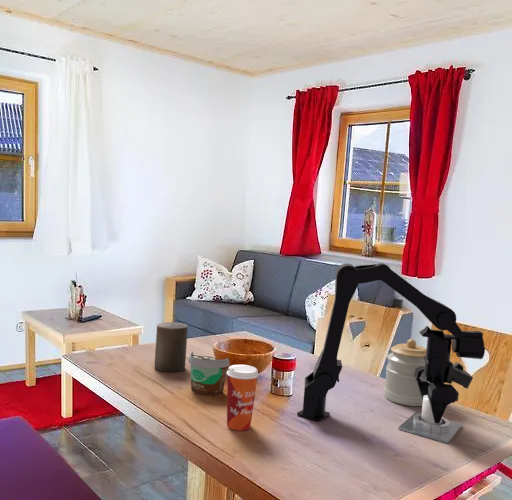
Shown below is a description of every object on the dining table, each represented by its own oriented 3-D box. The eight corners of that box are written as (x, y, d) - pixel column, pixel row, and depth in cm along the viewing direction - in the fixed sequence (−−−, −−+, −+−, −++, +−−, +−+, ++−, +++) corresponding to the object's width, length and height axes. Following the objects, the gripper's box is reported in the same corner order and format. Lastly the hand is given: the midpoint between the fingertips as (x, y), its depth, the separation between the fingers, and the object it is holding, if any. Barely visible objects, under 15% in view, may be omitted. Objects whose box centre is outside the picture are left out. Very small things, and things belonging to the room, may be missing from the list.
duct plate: (448, 443, 126) (448, 435, 126) (398, 429, 133) (399, 421, 133) (462, 426, 138) (463, 418, 138) (416, 413, 145) (416, 406, 144)
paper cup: (230, 434, 123) (235, 374, 122) (217, 421, 130) (221, 364, 129) (260, 430, 127) (265, 372, 126) (246, 418, 133) (250, 362, 132)
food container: (178, 391, 149) (180, 355, 148) (189, 385, 155) (191, 351, 154) (218, 400, 145) (220, 363, 144) (227, 393, 150) (230, 358, 150)
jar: (437, 400, 157) (443, 341, 155) (416, 410, 147) (422, 347, 146) (396, 388, 165) (402, 332, 164) (375, 397, 156) (380, 337, 155)
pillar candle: (182, 373, 165) (185, 325, 164) (151, 370, 165) (154, 322, 164) (187, 364, 175) (190, 319, 174) (157, 362, 175) (160, 316, 174)
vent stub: (423, 428, 133) (425, 400, 133) (418, 420, 138) (421, 394, 138) (447, 430, 133) (449, 403, 132) (441, 422, 138) (444, 396, 137)
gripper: (484, 368, 124) (477, 434, 125) (459, 348, 143) (453, 405, 144) (435, 364, 125) (428, 429, 126) (416, 344, 144) (411, 401, 145)
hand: (432, 415), depth 135 cm, fingers open, 9 cm apart
